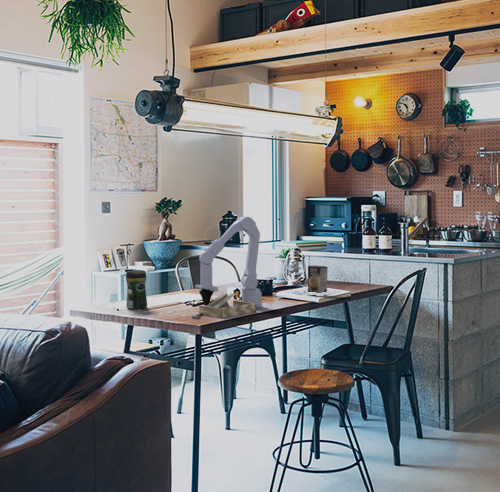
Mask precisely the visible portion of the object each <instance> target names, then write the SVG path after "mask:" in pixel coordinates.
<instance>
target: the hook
mask: <svg viewBox="0 0 500 492" xmlns="http://www.w3.org/2000/svg"><path fill="white" fill-rule="evenodd" d="M201 316H202V317H203V316H204V315H203V313H201V314H199V313H198V314H194V315H192V316H191V319H193V320H194V319H195V320H199V319H201Z"/></svg>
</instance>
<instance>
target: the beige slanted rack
mask: <svg viewBox="0 0 500 492" xmlns="http://www.w3.org/2000/svg"><path fill="white" fill-rule="evenodd" d="M237 294H238V293H230V294H228V293H222V294H220V295H219V296H217V297H216V298H215V299H213V300H211V301H210V303H209V304H208V305H206V306H209V307H215V308H228V307H231V306H230V305H229V302H228V301H229V300H231V298H233V297H234V296H236V295H237Z"/></svg>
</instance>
